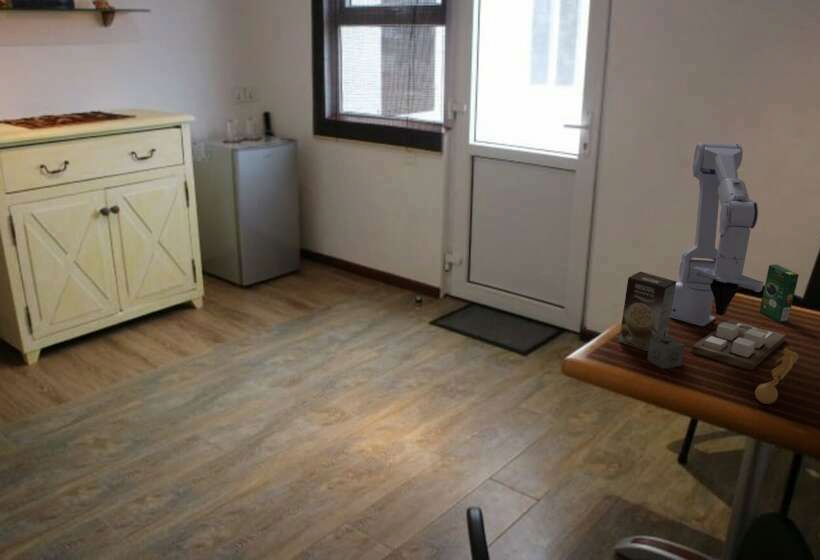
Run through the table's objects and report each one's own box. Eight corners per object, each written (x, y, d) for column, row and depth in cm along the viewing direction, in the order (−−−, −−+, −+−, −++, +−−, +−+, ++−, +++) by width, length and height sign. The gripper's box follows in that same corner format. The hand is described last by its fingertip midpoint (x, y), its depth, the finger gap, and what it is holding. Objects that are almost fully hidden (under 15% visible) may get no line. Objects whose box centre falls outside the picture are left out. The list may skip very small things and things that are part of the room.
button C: (702, 350, 164) (704, 340, 164) (709, 346, 167) (710, 335, 166) (718, 355, 162) (720, 345, 161) (724, 351, 165) (726, 340, 164)
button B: (742, 343, 165) (744, 333, 164) (747, 339, 168) (749, 328, 167) (758, 348, 163) (760, 337, 162) (764, 343, 165) (766, 333, 164)
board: (691, 352, 164) (692, 344, 163) (728, 325, 180) (730, 318, 180) (750, 370, 156) (752, 362, 155) (784, 340, 172) (786, 333, 171)
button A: (715, 336, 169) (717, 325, 168) (721, 331, 171) (723, 321, 171) (731, 340, 167) (733, 330, 166) (737, 336, 169) (739, 326, 168)
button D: (731, 352, 160) (733, 341, 159) (736, 347, 163) (738, 337, 162) (747, 357, 158) (750, 346, 157) (753, 352, 160) (755, 341, 160)
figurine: (752, 391, 146) (763, 336, 142) (785, 397, 144) (797, 342, 140) (754, 410, 139) (766, 353, 135) (789, 416, 137) (802, 358, 133)
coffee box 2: (789, 322, 184) (800, 273, 179) (779, 323, 183) (790, 274, 179) (768, 311, 191) (777, 263, 187) (758, 311, 190) (768, 264, 186)
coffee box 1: (617, 342, 168) (626, 276, 163) (630, 334, 173) (639, 270, 168) (654, 354, 162) (665, 286, 157) (667, 346, 167) (677, 280, 162)
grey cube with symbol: (647, 360, 160) (650, 339, 158) (665, 356, 161) (668, 336, 160) (663, 369, 155) (666, 348, 154) (681, 366, 157) (684, 344, 156)
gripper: (690, 251, 159) (681, 309, 163) (759, 267, 150) (747, 327, 154) (703, 245, 164) (694, 302, 168) (770, 260, 155) (759, 319, 159)
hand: (720, 313), depth 162 cm, fingers closed
